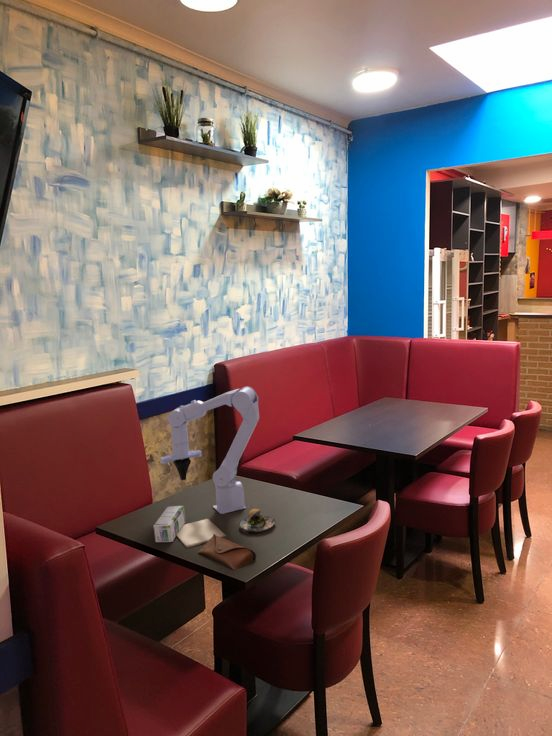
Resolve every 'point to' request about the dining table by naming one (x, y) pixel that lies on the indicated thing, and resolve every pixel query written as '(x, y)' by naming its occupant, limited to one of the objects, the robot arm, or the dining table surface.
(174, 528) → the syrup box
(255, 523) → the burger
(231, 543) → the sunglasses case
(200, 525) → the beige folded napkin
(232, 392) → the robot arm
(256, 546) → the dining table surface
